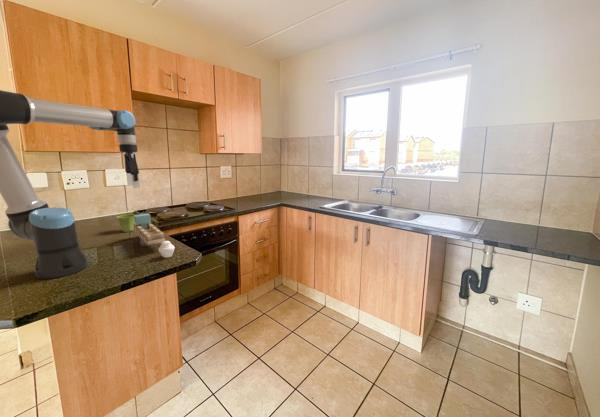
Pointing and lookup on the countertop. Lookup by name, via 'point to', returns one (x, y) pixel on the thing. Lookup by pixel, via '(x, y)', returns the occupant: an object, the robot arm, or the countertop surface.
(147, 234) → the beam
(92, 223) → the countertop surface
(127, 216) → the plant pot
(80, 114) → the robot arm
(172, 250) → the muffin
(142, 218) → the rider
